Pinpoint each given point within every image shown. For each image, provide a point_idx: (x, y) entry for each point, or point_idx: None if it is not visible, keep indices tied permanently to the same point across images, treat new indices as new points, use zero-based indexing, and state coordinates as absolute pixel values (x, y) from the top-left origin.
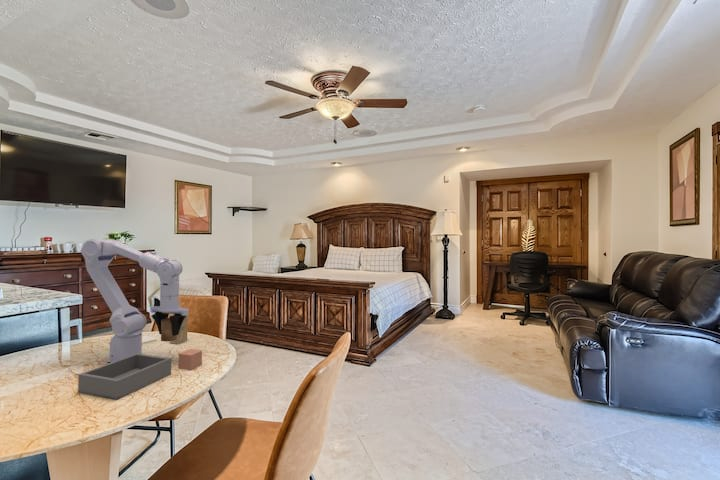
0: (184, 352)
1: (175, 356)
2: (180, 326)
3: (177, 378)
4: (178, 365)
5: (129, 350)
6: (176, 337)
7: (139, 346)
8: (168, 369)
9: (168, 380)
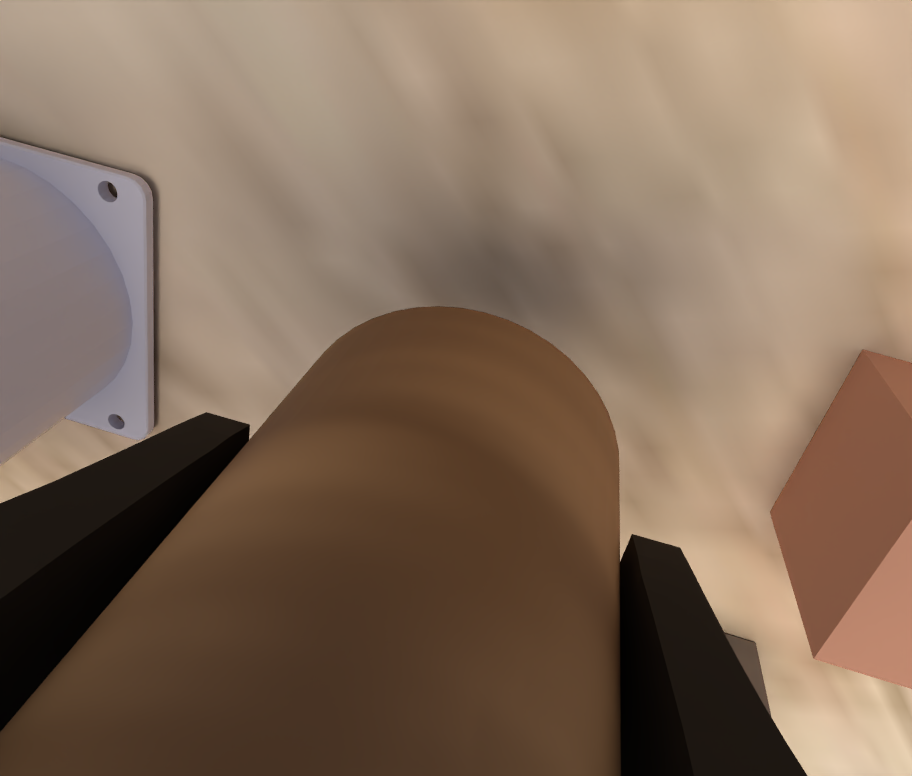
0: (896, 619)
1: (498, 80)
2: (777, 758)
3: (870, 726)
4: (777, 535)
5: (7, 458)
6: (618, 488)
7: (7, 365)
8: None
9: (795, 750)
